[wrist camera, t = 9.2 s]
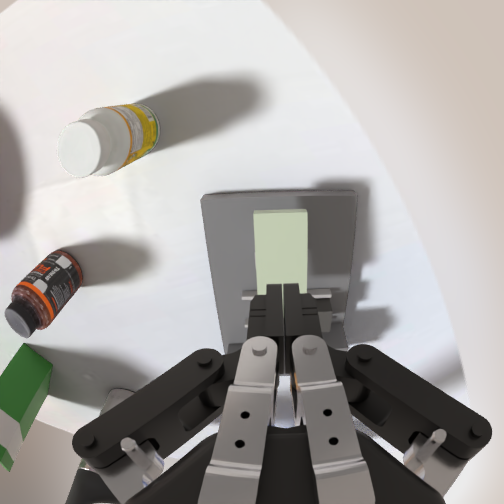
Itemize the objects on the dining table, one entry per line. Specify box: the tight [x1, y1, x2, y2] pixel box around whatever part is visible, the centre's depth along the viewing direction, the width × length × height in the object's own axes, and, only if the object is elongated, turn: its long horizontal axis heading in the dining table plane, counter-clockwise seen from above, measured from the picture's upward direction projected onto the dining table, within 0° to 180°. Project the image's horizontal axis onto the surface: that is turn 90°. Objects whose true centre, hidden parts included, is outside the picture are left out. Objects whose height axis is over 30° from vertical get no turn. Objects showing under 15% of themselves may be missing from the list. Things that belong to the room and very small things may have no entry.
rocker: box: [253, 209, 308, 298], centre depth 24 cm, size 9×4×1 cm, turn 4°
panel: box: [200, 191, 358, 376], centre depth 31 cm, size 24×14×6 cm, turn 4°
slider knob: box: [315, 298, 333, 333], centre depth 30 cm, size 3×3×3 cm
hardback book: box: [0, 343, 53, 472], centre depth 37 cm, size 18×7×24 cm, turn 144°
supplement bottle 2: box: [57, 104, 160, 178], centre depth 21 cm, size 5×5×10 cm
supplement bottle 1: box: [5, 251, 82, 338], centre depth 29 cm, size 6×6×11 cm
